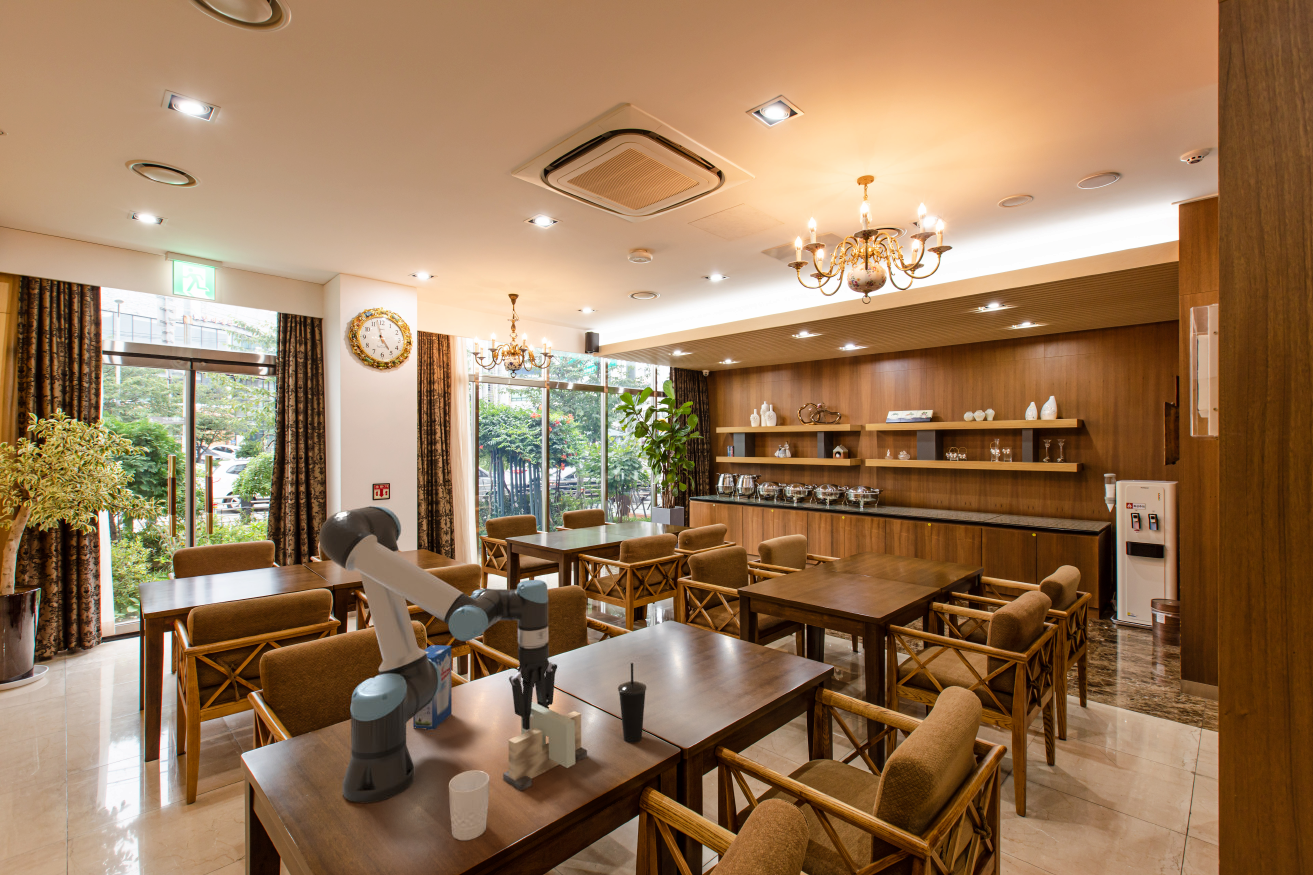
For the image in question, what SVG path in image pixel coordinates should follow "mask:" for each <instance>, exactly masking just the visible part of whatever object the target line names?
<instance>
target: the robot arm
mask: <svg viewBox="0 0 1313 875" xmlns="http://www.w3.org/2000/svg"><path fill="white" fill-rule="evenodd" d="M401 532H402V525H401V522H400V520H399V518H398V516H397V515H396V514H395V513H394V511H392V510H390V509H389V508H387V507H384V506H374V505H373V506H364V507H361V508H354V509H350V510H348V509H347V510H342V511H338V512H336V513H334V514H332V515H331V516H329V517H328V518H327V519H326V520H325V521H324V522H323V524H322V526H321V528H320V530H319V534H318V543H319V545H320V548H321V550H322V551H323V553H324V554H325V556H326V557H327V558H329V559H330V560H331V561H332V562H334V563H335V564H337V565H338V566H340V567H341V568H343V569H345V570H346V571H348V572H355V571H357V572H359V575H360V578H361V582H362V586H363V590H364V592H365V593H364V594H365V598H366V601H367V605H368V608H369V613H370V616H371V620H372V624H373V628H374V632H375V635H376V638H377V643H378V647H379V652H380V653H381V654H380V655H381V658H382V661H381V663H380V665H379V667H378V673H379V674H378V675H376V676H374V677H370V678H367V679H365V680H364V681H362V682H360V683H359V684H358V685H357V686H356V687H355V689H354V690H353V692H352V695H351V703H350V710H349V711H350V726H351V727H350V730H351V732H350V738H351V739H350V742H351V743H350V744H351V746H350V747H351V748H350V750H351V756H350V760H349V761H348V762H349V763H348V764H347V768H346V771H345V774H344V778H343V782H342V796H343V795H344V796H343V797H344V799H346V798H347V799H348V800H347V799H346V800H347V801H349V800H350V801H349V802H352V801H354V802H353V803H357V802H364V804H367V802H368V803H374V802H379V801H383V800H386V799H389V798H392V797H394V796H397V795H398V794H400V793H402V792H403V791H405V790H406V789H408V788H409V787H410V785H411V784H413V782H414V780H415V766H414V765H415V764H414V762H413V759H412V757H411V754H410V751H409V748H408V745H407V723H408V722H409V721H410V720H411V719H413V716H414V715H416V714H417V713H418V712H419V711H420V710H422V709H423V708H424V707H426V706H427V705H428V704H429V703H430V702H431V701H432V700H433V698H434V697H435V696H436V695H437V693H438V691H439V689H440V685H441V673H440V670H439V668H438V666H437V665H436V663H435V662H432V660H431V659H428V657H427V654H426V651H424V650H425V649H422V648H420V647H419V646H418V645H419V644H418V643H417V638H416V635H415V632H414V631H415V630H414V627H413V622H412V620H411V619H412V618H411V616H410V612H409V609H408V604H407V601H409V602H410V603H411V604H413V605H415V606H416V607H418V608H420V609H421V610H424V611H425V612H427V613H429V614H430V615H432V616H434V617H435V618H437V619H439V620H441V621H443V622H444V623H446V624H447V625H448V630H449V632H450V634H451V636H452V637H453V638H455V639H456V640H457V641H458V640H459V641H461V642H467V641H472V640H473V639H475V638H478V637H480V636H481V635H483V634H484V632H486V630H488V629H489V628H490V627H491V626H493V625H494V624H496V623H497V622H498V621H517V644H518V647H517V655H518V656H517V657H518V658H517V659H518V663H519V666H518V669H517V673H516V674H515V675H511V676H509V678H508V681H509V683H510V684H511V690H512V698H513V709H514V714H515V715H517V716H519V717H520V718H521V717H522V727H523V729H525V732H528V731H530V730H532V729H534V715H531V706H532V702H533V692H534V688H535V694H536V703H537V704H539V705H541V706H543V707H545V708H548V709H550V706H552V704H554V692H555V677H556V673H557V669H558V664H557V663H553V662H551V661H550V662H549V657H550V650H549V648H550V645H549V643H548V642H549V594H548V592H549V591H548V585H547V583H546V582H545V581H543V580H540V579H530V580H523V581H521V582H519V583H518V584H517V585H516V586H517V588H516V589H505V588H503V589H501V588H500V589H498V588H497V589H495V588H492V589H491V588H484V589H482V588H481V589H476V590H474V591H473V592H472V593H471V596H469V595H468V594H466V593H464V592H463V591H461V590H459V589H458V588H456V587H454V586H453V585H451V584H449V583H448V582H445V581H444V580H442V579H440V578H439V577H437V576H436V575H434V574H432V573H430V572H428V571H427V570H425V569H423V568H422V567H420V566H418V565H417V564H415V563H413V561H410V560H409V559H406V558H405V557H403V556H401V555H399V554H398V553H399V546H398V541H399V538H400V535H401ZM406 600H407V601H406ZM413 779H414V780H413Z"/></svg>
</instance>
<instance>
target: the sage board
mask: <svg viewBox="0 0 1313 875" xmlns="http://www.w3.org/2000/svg"><path fill="white" fill-rule="evenodd" d="M531 715H534V728H537V729H539V730H541V731H542V746H543V745H545V744H547V738H548V743H549V759H551V760H553V761H555V762H557V763H559V765H561V766H563V767H564V768H570V767H572V766H573V765H575V764H576V760H575V721H574V720H572V719H570V718H567V717H565V716H564V714H561V713H559V712H557V711H554V710H551V709H550V708H549V709H548V708H545V707H543V706H541V705H539V704H537V702H534V701H532V706H531ZM520 726H521V727H520V729H521V730H520V731H521V732H520V735H521V734H523V733H525V729H523V727H522V717H521V716H520Z"/></svg>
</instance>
